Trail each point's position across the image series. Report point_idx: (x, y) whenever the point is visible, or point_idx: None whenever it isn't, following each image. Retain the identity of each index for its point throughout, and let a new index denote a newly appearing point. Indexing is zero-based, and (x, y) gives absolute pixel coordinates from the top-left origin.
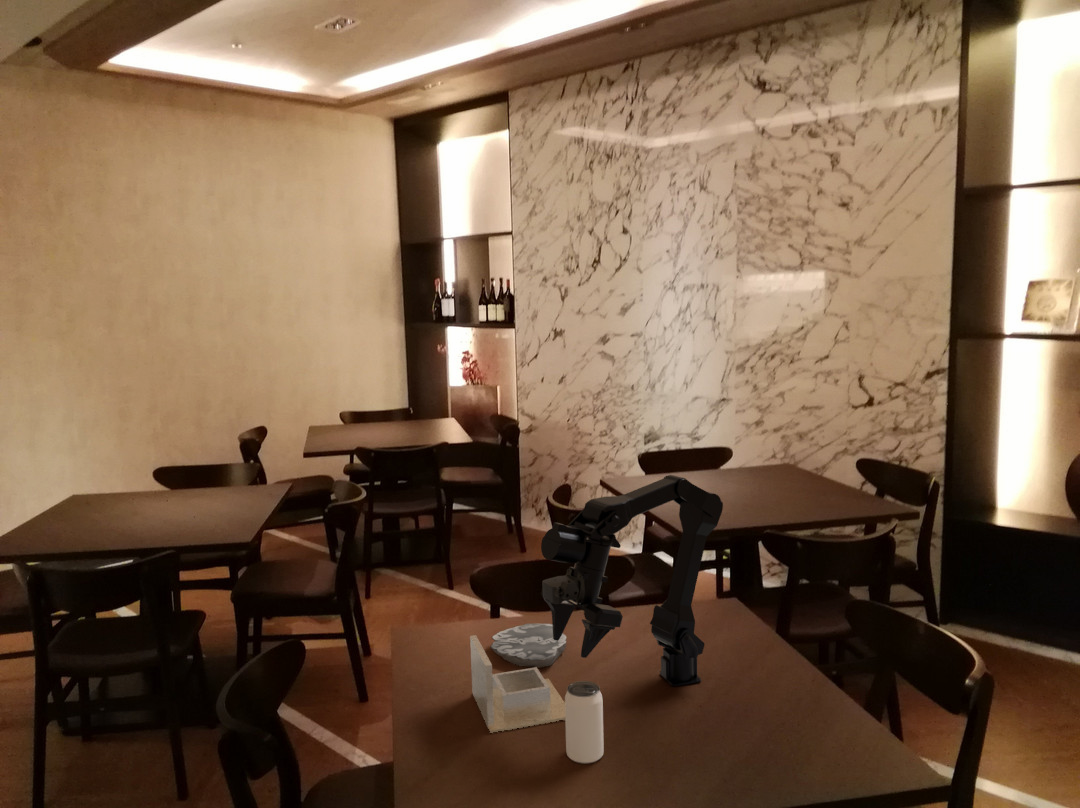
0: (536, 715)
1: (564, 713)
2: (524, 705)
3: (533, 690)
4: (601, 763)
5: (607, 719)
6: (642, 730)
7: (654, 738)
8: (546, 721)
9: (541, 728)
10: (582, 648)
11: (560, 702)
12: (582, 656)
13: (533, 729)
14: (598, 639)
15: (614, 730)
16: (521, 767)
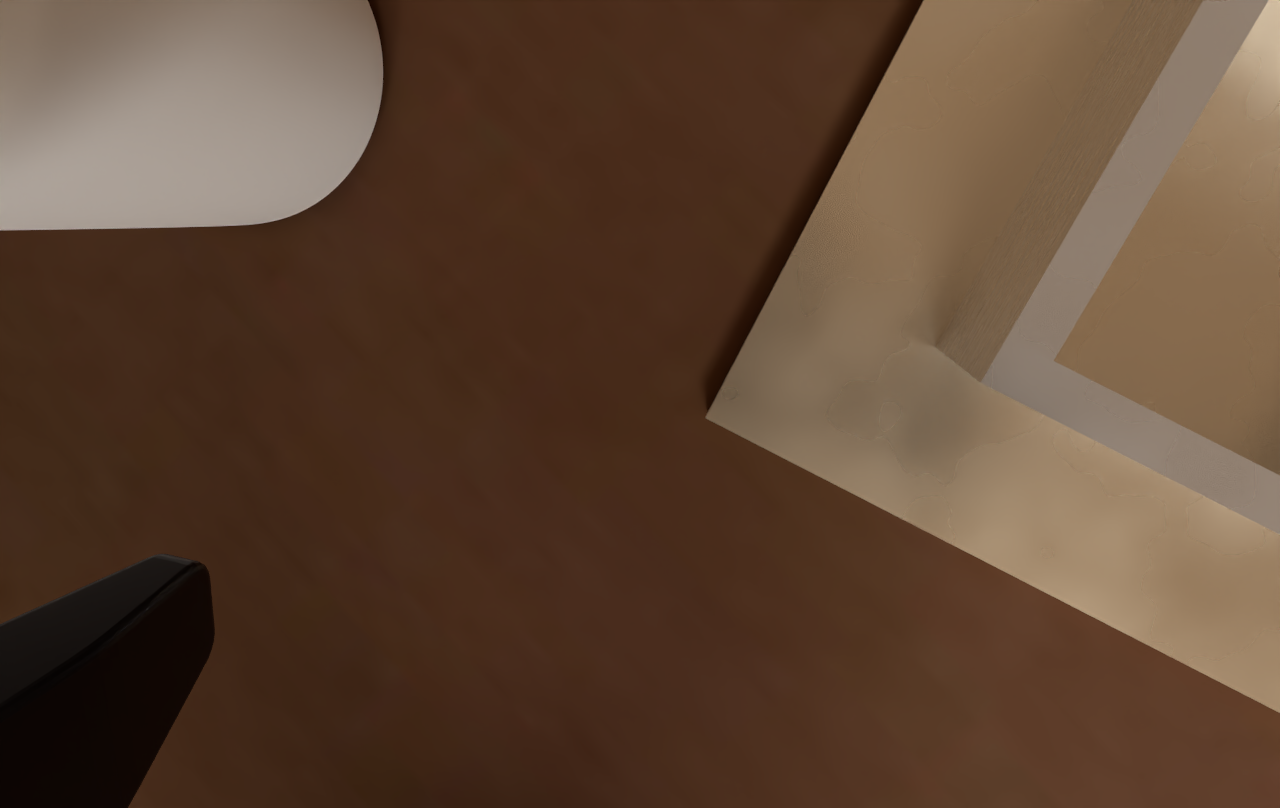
0: (969, 179)
1: (791, 389)
2: (1103, 95)
3: (1092, 191)
4: None
5: (494, 592)
6: None
7: None
8: (827, 183)
9: (801, 91)
10: (38, 646)
11: (964, 509)
12: (153, 566)
13: (844, 24)
14: None
15: (339, 501)
16: None
